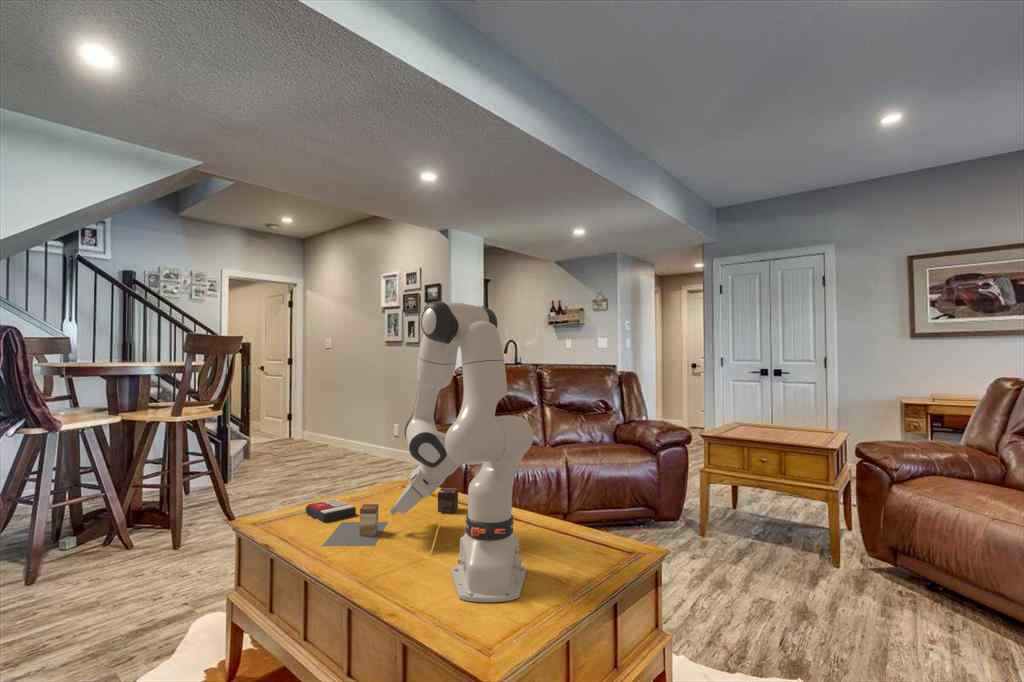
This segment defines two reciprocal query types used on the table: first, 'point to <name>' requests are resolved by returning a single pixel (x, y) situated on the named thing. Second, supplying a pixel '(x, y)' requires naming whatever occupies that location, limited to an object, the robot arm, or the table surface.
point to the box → (448, 500)
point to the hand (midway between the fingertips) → (392, 512)
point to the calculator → (330, 510)
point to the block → (369, 519)
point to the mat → (353, 535)
